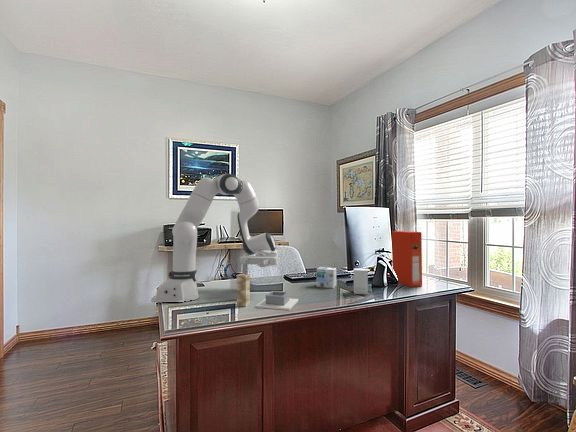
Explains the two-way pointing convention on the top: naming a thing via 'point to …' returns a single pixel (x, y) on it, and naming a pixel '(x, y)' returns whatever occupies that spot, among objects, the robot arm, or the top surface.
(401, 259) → the file binder
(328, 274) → the light bulb box
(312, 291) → the top surface
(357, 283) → the supplement box
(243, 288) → the maple post
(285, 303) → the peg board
